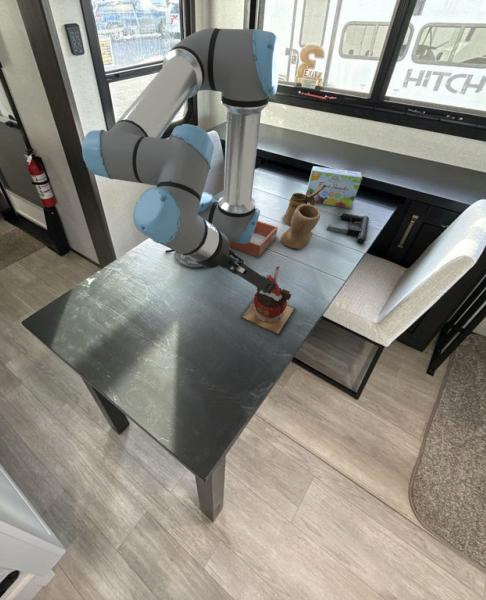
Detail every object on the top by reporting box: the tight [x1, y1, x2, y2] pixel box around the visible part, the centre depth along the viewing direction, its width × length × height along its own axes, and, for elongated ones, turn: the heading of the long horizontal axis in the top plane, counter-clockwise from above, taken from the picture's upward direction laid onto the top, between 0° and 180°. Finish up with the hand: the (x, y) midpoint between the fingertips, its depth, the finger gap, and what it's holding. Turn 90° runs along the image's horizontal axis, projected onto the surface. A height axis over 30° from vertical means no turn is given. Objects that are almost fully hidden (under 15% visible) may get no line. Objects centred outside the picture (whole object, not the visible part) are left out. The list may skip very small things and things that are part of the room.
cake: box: [253, 264, 292, 322], centre depth 90 cm, size 11×9×18 cm
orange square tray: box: [229, 220, 279, 258], centre depth 122 cm, size 14×16×5 cm
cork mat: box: [241, 301, 295, 335], centre depth 96 cm, size 12×12×1 cm
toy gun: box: [326, 212, 371, 245], centre depth 131 cm, size 3×20×16 cm
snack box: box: [305, 165, 363, 209], centre depth 143 cm, size 21×6×15 cm, turn 73°
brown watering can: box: [282, 184, 326, 226], centre depth 129 cm, size 9×14×18 cm, turn 63°
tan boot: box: [280, 203, 321, 250], centre depth 120 cm, size 15×12×15 cm
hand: (251, 273), depth 77 cm, fingers open, 13 cm apart
